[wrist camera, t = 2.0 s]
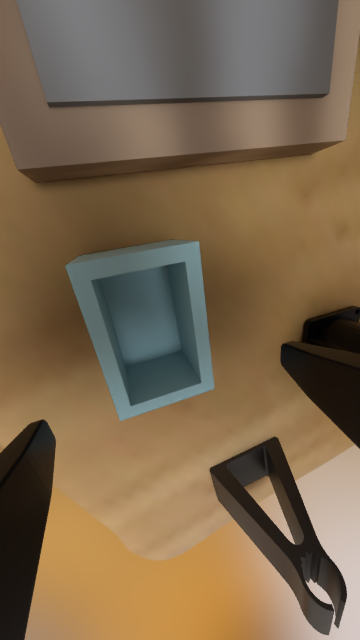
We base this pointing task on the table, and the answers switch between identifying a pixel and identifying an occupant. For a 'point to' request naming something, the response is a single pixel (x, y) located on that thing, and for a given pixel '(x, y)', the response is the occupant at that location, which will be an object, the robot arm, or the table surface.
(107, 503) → the table surface
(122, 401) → the box
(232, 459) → the phone stand
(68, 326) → the table surface
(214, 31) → the walnut stand
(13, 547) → the robot arm
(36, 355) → the table surface
